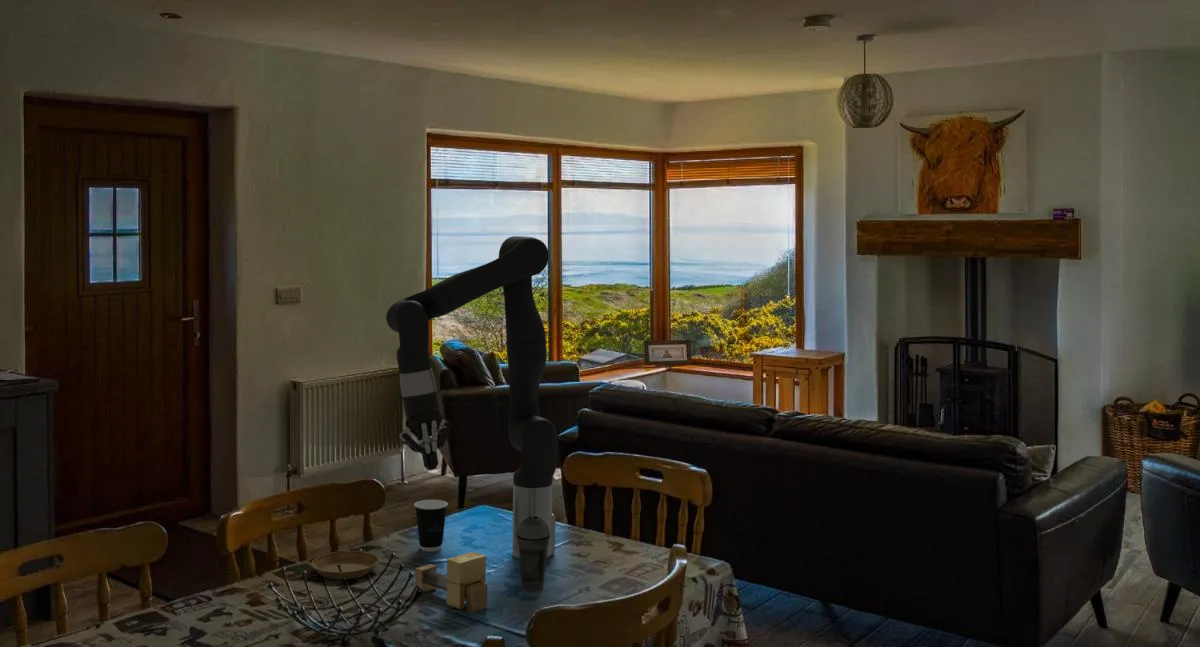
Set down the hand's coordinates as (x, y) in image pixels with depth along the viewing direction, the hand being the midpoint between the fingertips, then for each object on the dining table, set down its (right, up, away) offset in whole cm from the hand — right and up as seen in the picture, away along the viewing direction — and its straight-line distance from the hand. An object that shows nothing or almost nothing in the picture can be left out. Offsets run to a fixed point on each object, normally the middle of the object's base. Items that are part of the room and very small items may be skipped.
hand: (432, 469), depth 237 cm
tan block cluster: (+6, -26, -11) cm, 28 cm away
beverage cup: (+22, -25, -3) cm, 34 cm away
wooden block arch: (+9, -26, -14) cm, 31 cm away
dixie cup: (-4, -22, +23) cm, 33 cm away
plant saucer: (-20, -24, +5) cm, 32 cm away
